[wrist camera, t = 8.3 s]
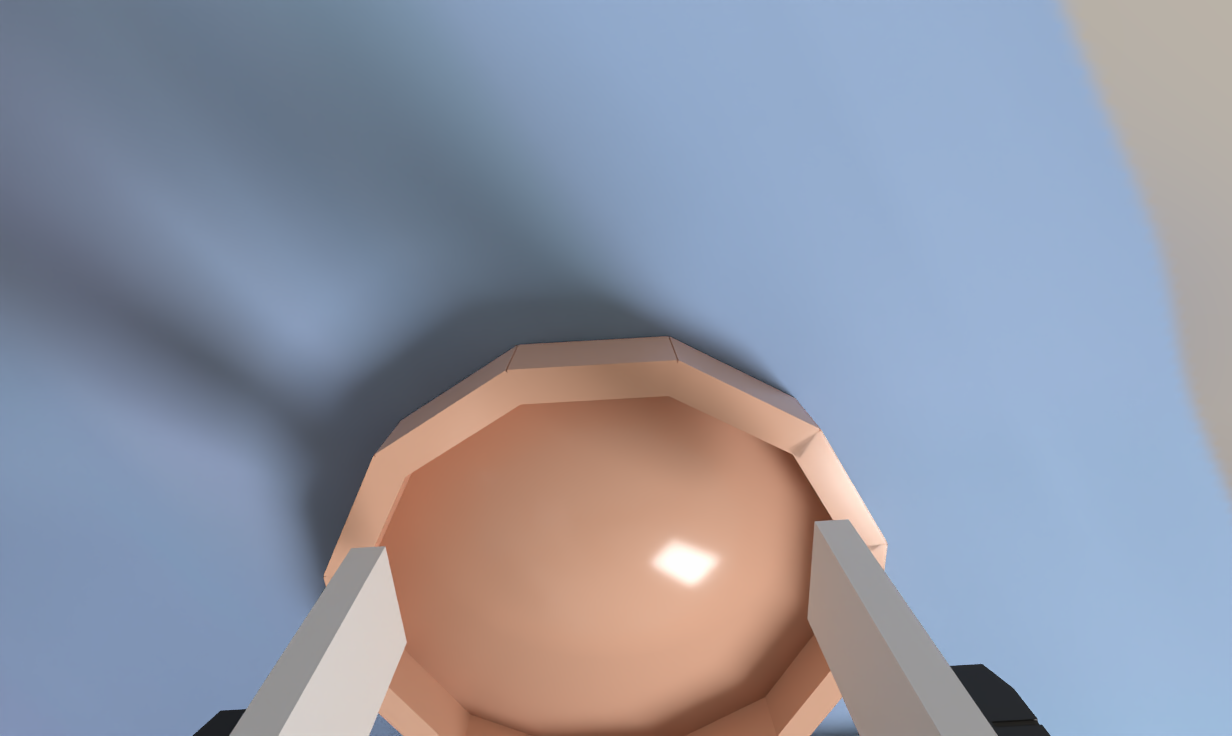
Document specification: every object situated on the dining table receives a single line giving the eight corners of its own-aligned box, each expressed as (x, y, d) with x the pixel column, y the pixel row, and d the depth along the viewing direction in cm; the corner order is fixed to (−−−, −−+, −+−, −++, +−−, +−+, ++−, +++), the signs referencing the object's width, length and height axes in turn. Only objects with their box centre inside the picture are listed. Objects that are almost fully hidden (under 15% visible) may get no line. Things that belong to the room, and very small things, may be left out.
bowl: (408, 759, 21) (389, 820, 19) (311, 356, 15) (270, 383, 14) (833, 734, 21) (856, 792, 19) (874, 323, 16) (912, 346, 14)
